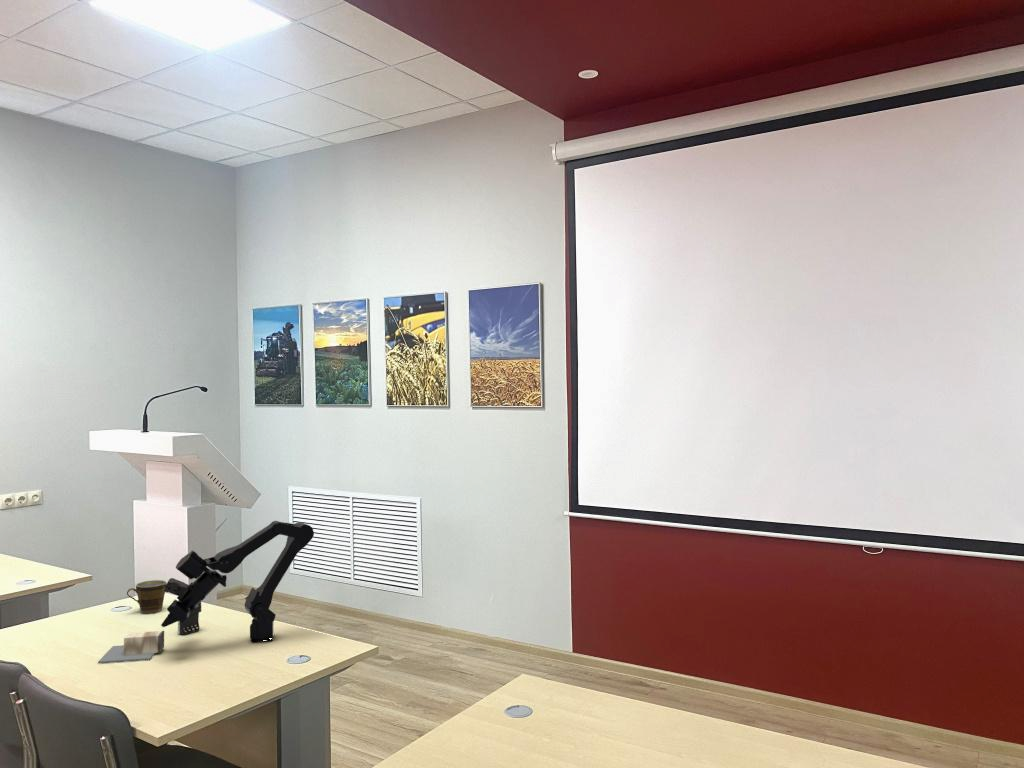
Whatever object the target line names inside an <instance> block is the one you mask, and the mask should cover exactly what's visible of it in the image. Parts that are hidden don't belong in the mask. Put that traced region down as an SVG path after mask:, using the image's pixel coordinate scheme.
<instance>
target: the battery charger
mask: <svg viewBox="0 0 1024 768" xmlns="http://www.w3.org/2000/svg"><path fill="white" fill-rule="evenodd" d="M189 611H190V612H189V616H188V618H187V619H186V620H185V621H184V622H183V623H181V622H180V621H177V634H178V635H189V634H192V633H196V632H199V631H200V623H199V622H200V621H199V620H200V619H199V618H200V617H199V616H200V615H199V614H200V613H201V612H202V601H201V602H200V603H199V604H198V605H197V606H196V607H195V608H194V609H193V610H192V611H191V610H190V609H189Z"/></svg>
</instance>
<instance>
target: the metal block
mask: <svg viewBox="0 0 1024 768" xmlns="http://www.w3.org/2000/svg"><path fill="white" fill-rule="evenodd" d="M123 645H124V655H132V654H146V653H155V654H158V653H161V652H162V651H163V649H164V648H165V630H155V631H154V630H153V631H151V630H150V631H138V632H128V633H127V634H126V635H125V636H124V637H123Z"/></svg>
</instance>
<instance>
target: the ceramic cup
mask: <svg viewBox="0 0 1024 768" xmlns="http://www.w3.org/2000/svg"><path fill="white" fill-rule="evenodd" d="M167 582H168V581H165V580H159V579H156V580H155V579H153V580H146V581H142V582H138V583H136V584H135V588H134V587H131V588H129V589H128V590H127V591H126V595H127V597H129V599H132V600H133V601H135V602H137V604H138V605H139V610H140V611H139V612H140V614H142V615H152V614H153V615H154V614H157V613H160V612H162V610H163V606H164V599H165V594H166V592H165V591H164V588H165V586H166V584H167ZM131 591H133V592H134V593H136V594H137V599H136V598H135V597H133V596H131V595H129V592H131Z"/></svg>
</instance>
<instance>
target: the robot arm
mask: <svg viewBox="0 0 1024 768" xmlns="http://www.w3.org/2000/svg"><path fill="white" fill-rule="evenodd" d="M279 535H280V536H281V535H282V536H285V537H287V538H286V542H285V545H284V547H283V549H282V551H281V552H280V554H279V555H278V557H277V559H276V560H275V562H274V564H273V565H272V567H271V568H270V571H268V574H267V575H266V576H265V578H264V579H263V581H262V583H261V584H260V586H259V587H257V588H256V589H255V588H254V587H251V589H250V590H249V593H248V594H247V595H246V597H245V598H244V600H245V602H244V609H245V612H247V613H248V614H249V615H250V616H251V617H252V620H251V624H250V626H249V640H250V642H251V641H252V642H251V643H254V642H253V641H263V640H270V639H269V638H272V639H273V640H274V638H273V633H274V622H275V619H276V613H274V612H273V611H272V610H270V607H271V604H272V601H273V596H274V593H275V591H276V589H277V587H278V585H280V582H281V581H282V580H283V578H284V576H285V574H286V572H288V569H289V568H290V566H291V565H292V563H293V561H294V559H295V558H296V556H297V554H299V552H301V550H302V549H304V548H305V547H306V546H307V545H308V544H309V543H310V541H311V540H312V539H313V538H314V535H315V533H314V528H313V527H312V526H311V525H310V524H307V523H304V522H300V521H299V522H295V523H291V522H284V521H279V520H273V521H272V522H270V524H268V525H267V526H265V527H264V528H262V529H260V530H259V531H257V532H256V533H254V534H253V535H251V536H249V537H248V538H247V539H245V540H244V541H242V542H241V543H239V544H238V545H235V546H231V547H228V548H226V549H224V550H221V551H220V552H218V553H216V554H215V555H214V556H211V557H208V558H204V559H203V558H202V557H201V556H200V555H199V554H198V553H197V552H195V550H191V551H190V552H189V553H187V554H185V555H184V556H183V557H181V559H179V561H178V562H177V563H176V565H175V569H176V570H177V571H179V572H180V573H182V575H183V576H185V577H187V578H188V579H189V580H193V579H195V580H194V581H193V582H192V581H191V582H190V583H189V584H188V583H185V582H184V581H181V580H179V579H176V578H172V577H171V578H169V579H168V580H167V581H166V582H167V584H166V586H165V588H164V591H165V593H169V594H172V595H175V596H177V597H176V599H174V600H173V601H172V602H171V603H170V604H169V606H167V608H166V610H167V612H168V614H167V616H166V617H165V619H164V620H163V622H162V623H161V624H160V626H161V627H162V628H165V627H167V626H168V627H169V626H170V625H173V624H174V623H178V621H180V622H181V623H183V622H184V621H185V620H186V619H187V618H188V616H189V612H190V611H189V609H190V610H191V611H192V610H193V609H194V608H195V607H196V606H197V605H198V604H199V603H200V602H201V603H202V601H203V600H205V599H206V597H207V596H208V595H209V594H210V593H211V592H212V591H213V590H215V588H216V587H217V586H218V585H219V584H220V585H221V586H222V587H224V588H226V587H227V578H228V577H227V575H226V574H229V573H231V572H233V571H234V570H235V569H237V567H239V566H240V564H242V562H243V561H244V560H245V558H247V556H249V555H251V554H252V553H254V552H255V551H256V550H258V549H259V548H261V547H262V546H264V545H266V544H267V543H269V542H271V540H273V539H274V538H276V537H278V536H279ZM218 571H219V572H218ZM220 573H222V574H220ZM223 574H224V575H223ZM272 639H271V640H272ZM273 640H272V641H273Z"/></svg>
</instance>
